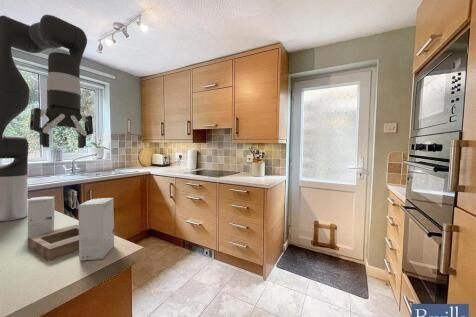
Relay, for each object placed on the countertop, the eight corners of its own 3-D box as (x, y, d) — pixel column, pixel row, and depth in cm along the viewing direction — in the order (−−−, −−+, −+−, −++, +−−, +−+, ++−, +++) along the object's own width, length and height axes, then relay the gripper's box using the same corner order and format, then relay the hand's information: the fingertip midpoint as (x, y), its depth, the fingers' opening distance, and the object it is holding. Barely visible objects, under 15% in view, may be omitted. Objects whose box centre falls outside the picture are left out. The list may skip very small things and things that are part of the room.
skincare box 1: (27, 238, 66) (26, 200, 65) (31, 233, 69) (30, 197, 69) (52, 234, 69) (52, 198, 69) (55, 229, 73) (54, 195, 72)
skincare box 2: (103, 259, 54) (103, 203, 54) (77, 261, 53) (77, 204, 52) (114, 245, 62) (115, 196, 62) (92, 246, 61) (92, 197, 61)
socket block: (28, 247, 60) (27, 237, 60) (76, 233, 70) (76, 224, 70) (49, 260, 53) (49, 249, 53) (99, 242, 64) (99, 233, 64)
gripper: (85, 99, 68) (84, 148, 69) (25, 86, 56) (26, 146, 56) (97, 96, 65) (97, 148, 65) (37, 83, 52) (37, 147, 53)
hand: (64, 147), depth 61 cm, fingers open, 8 cm apart
